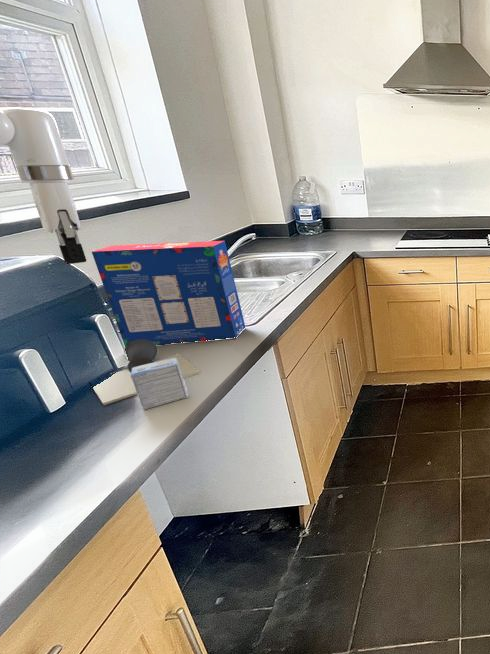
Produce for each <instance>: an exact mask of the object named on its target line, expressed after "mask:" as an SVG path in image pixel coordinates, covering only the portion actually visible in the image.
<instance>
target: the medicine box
mask: <svg viewBox="0 0 490 654" xmlns="http://www.w3.org/2000/svg"><path fill="white" fill-rule="evenodd" d="M131 378H132V381H133V383H134V386H135V389H136V392H137V395H136V396H137V398H138V400H139V402H140V406H141V408H142V410H143V411H145V410H147V409H151V408H155V407H158V406H162V405H166V404H169V403H173V402H176V401H179V400H182V399H187V398H189V394H188V389H187V386H186V382H185V380H184V379H183V376H182V373H181V369H180V366H179V363H178V360H177V358H171V359H166V360H162V361H158V362H154V363H149V364H145V365H141V366H137V367H133V368H132V370H131Z"/></svg>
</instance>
